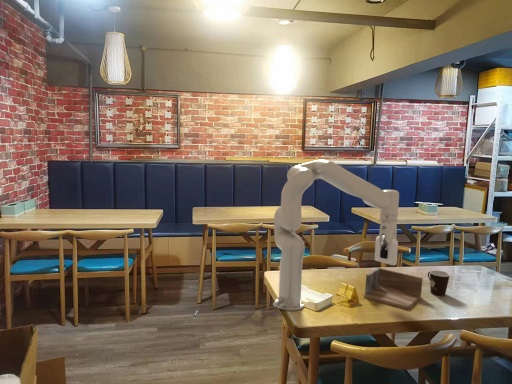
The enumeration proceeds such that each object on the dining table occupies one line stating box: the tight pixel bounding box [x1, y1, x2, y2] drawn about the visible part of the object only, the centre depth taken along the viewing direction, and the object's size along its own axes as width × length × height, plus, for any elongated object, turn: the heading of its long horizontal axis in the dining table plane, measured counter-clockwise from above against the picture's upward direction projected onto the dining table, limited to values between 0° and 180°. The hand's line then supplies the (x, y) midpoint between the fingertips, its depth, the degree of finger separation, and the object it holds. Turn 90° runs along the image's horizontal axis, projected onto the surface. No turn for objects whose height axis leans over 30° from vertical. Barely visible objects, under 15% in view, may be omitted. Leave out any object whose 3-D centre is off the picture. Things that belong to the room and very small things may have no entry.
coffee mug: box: [427, 269, 451, 297], centre depth 192 cm, size 12×9×10 cm
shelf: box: [363, 267, 423, 311], centre depth 184 cm, size 18×20×10 cm
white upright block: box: [374, 235, 399, 266], centre depth 182 cm, size 10×4×12 cm, turn 41°
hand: (385, 256), depth 182 cm, fingers closed on white upright block, 5 cm apart
